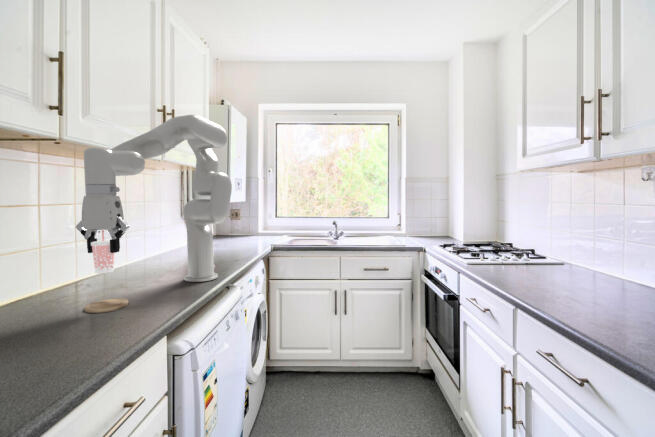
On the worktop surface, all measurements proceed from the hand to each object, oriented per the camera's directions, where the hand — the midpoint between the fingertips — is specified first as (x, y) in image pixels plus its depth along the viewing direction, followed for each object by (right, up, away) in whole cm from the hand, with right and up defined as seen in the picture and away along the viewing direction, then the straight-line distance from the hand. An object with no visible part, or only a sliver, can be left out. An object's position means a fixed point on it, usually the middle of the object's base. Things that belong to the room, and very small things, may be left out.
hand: (103, 251), depth 101 cm
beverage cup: (0, -6, 0) cm, 6 cm away
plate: (0, -17, +1) cm, 17 cm away
